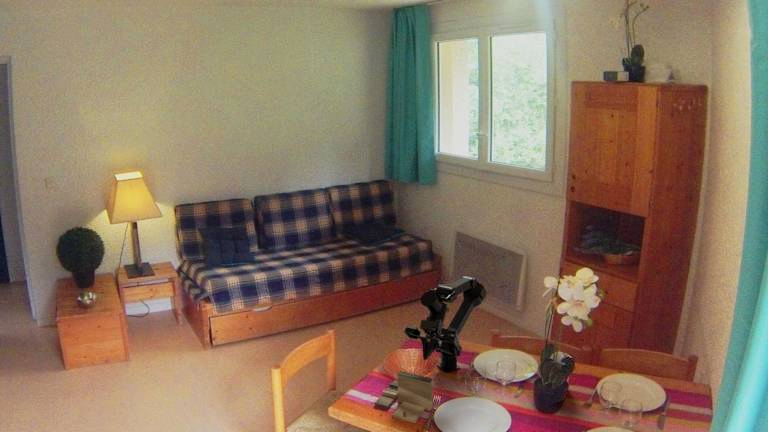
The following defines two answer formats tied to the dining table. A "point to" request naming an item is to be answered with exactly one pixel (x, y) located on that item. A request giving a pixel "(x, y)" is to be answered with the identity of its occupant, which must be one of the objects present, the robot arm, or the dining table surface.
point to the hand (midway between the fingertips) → (424, 359)
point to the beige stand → (413, 396)
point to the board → (388, 396)
